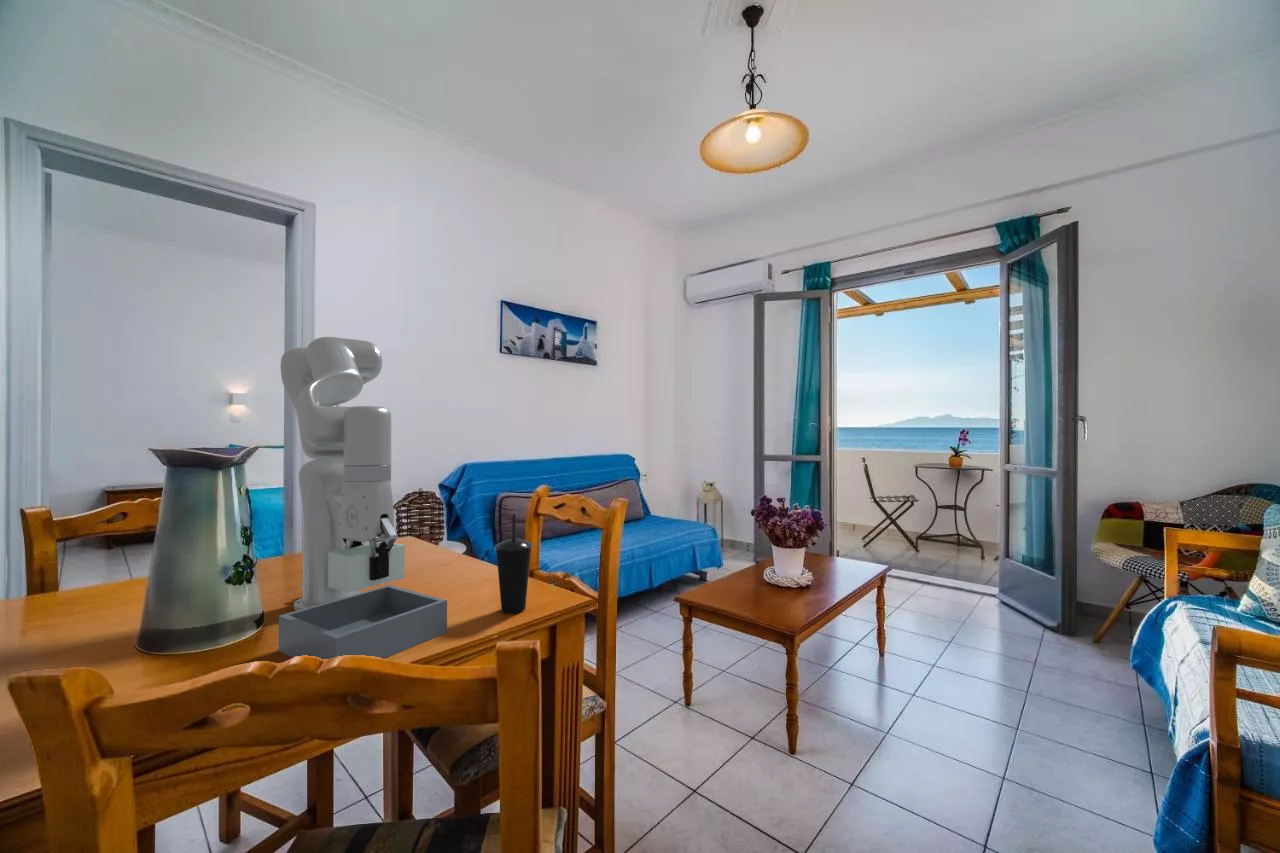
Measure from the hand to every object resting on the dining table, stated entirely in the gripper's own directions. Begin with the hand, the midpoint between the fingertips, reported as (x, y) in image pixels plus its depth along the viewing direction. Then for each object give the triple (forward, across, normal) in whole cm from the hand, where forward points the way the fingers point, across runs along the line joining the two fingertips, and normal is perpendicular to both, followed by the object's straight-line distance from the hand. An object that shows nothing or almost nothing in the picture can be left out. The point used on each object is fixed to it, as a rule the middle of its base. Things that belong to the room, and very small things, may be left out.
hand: (367, 574), depth 89 cm
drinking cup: (+12, +11, +25) cm, 30 cm away
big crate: (+12, 0, 0) cm, 12 cm away
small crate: (+1, 0, 0) cm, 1 cm away
